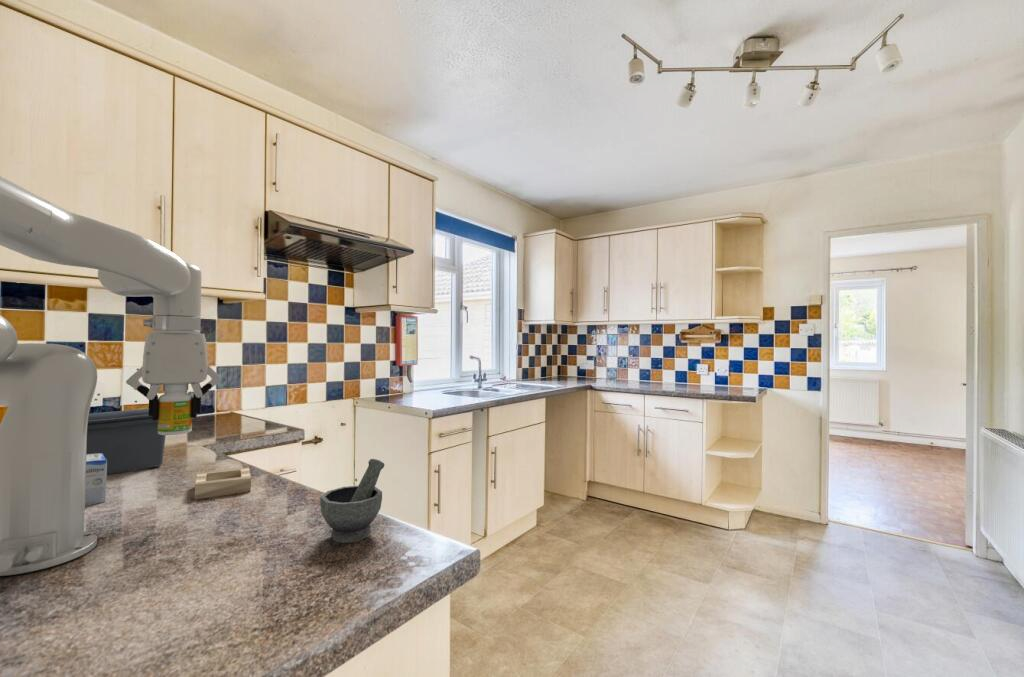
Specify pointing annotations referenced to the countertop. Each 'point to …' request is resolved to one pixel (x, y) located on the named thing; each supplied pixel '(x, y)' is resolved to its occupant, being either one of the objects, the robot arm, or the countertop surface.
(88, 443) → the storage bin
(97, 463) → the medicine box
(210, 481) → the holder block
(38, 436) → the robot arm
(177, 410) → the supplement bottle
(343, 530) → the mortar and pestle
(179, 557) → the countertop surface
